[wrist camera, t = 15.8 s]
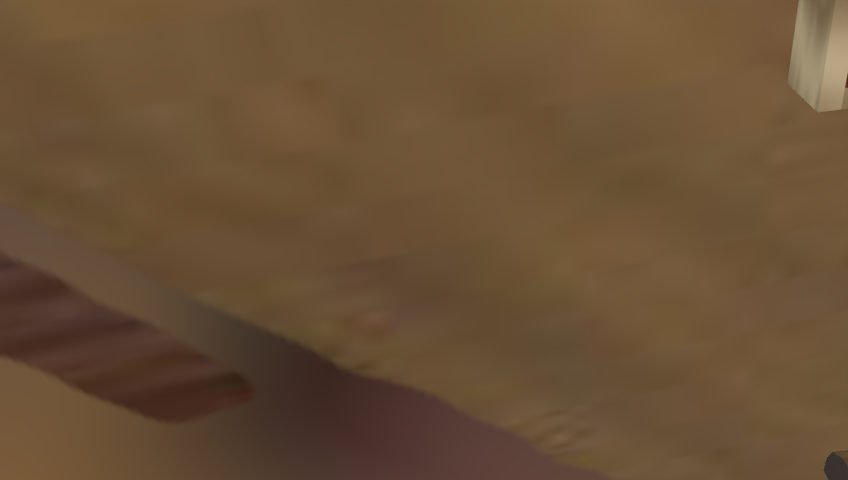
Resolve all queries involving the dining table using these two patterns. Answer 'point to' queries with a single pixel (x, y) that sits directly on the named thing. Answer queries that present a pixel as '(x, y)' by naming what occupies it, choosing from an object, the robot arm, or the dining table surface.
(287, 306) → the dining table surface
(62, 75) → the dining table surface
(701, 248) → the dining table surface
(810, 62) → the caddy
